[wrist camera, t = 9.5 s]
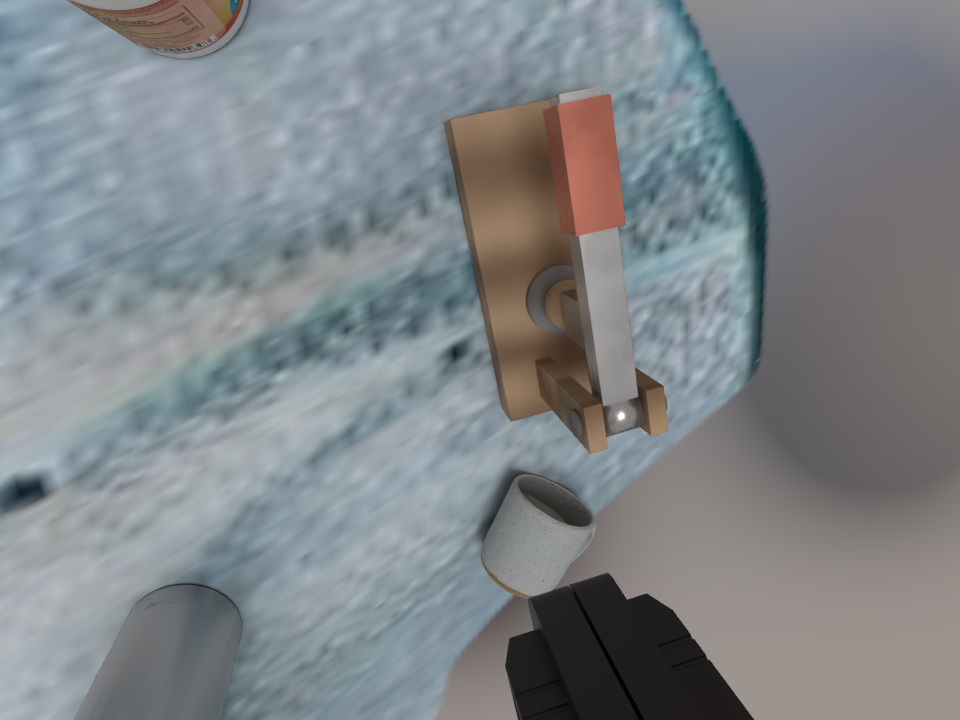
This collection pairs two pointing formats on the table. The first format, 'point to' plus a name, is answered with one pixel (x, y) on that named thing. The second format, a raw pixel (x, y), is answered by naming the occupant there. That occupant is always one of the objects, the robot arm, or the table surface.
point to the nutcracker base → (528, 273)
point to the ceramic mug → (536, 536)
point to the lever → (594, 248)
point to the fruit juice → (171, 23)
